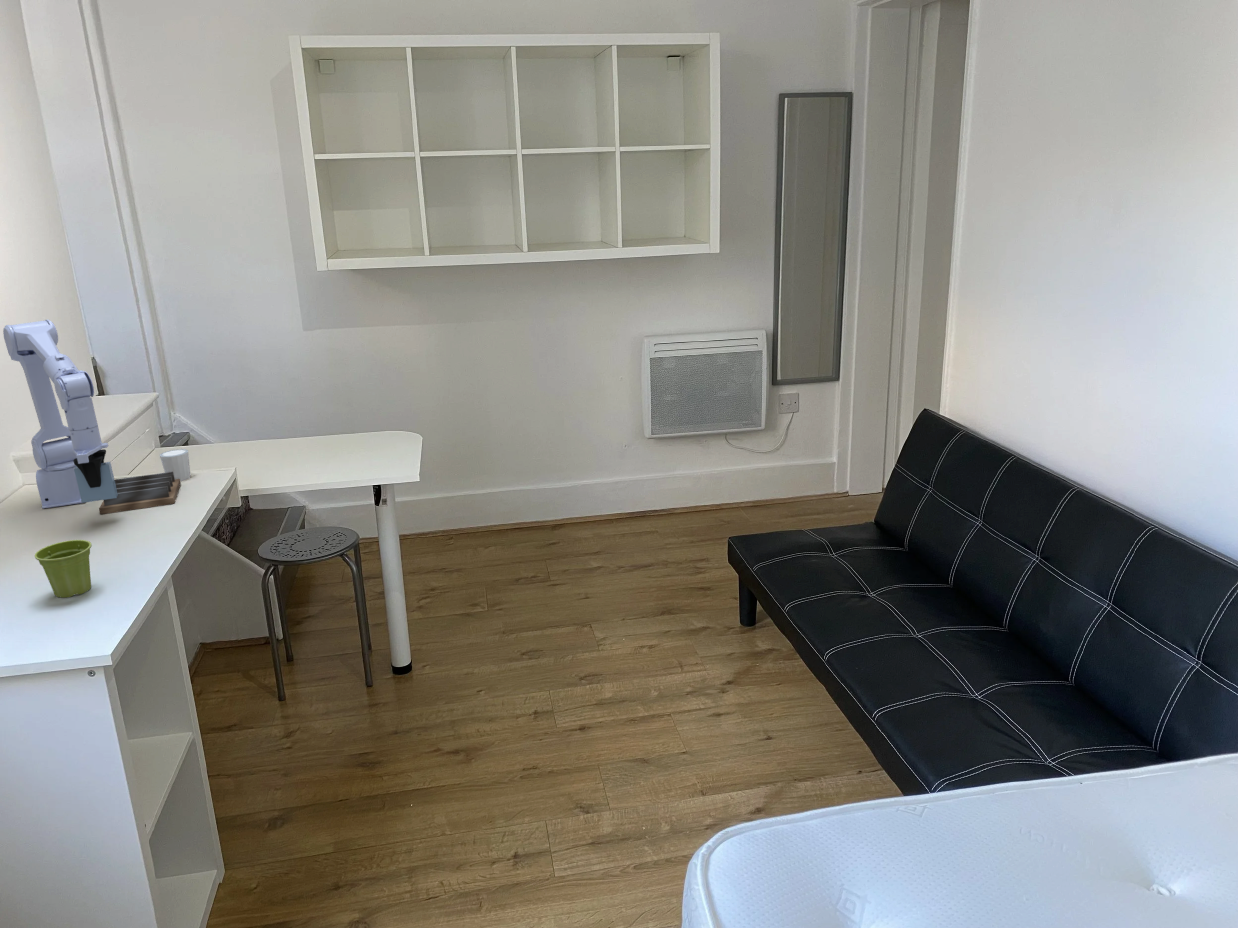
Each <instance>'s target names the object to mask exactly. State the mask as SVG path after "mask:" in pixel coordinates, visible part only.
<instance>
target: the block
mask: <svg viewBox="0 0 1238 928" xmlns="http://www.w3.org/2000/svg"><path fill="white" fill-rule="evenodd" d="M74 472H75V476H76V480H77V484H78V488H79V492H80V497H81V501H82V503H81V504H83V503H91V502H96V501H97V502H98V501H103V500H106V499H113V498H117V496H118V493H117V489H116V484H115V480H114V479H115V475H114V472H113V466H112V463H111V461H106V462H105V461H104V463H101V468H100V472H101V486H100V487H95V488H90V487H89V485H88V483H87V481H86V479H85V477H84V475H83V474H82V472H81V471H80V469H79V468H78V467H77V466H76V467H75V468H74Z"/></svg>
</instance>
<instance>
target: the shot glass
mask: <svg viewBox="0 0 1238 928" xmlns="http://www.w3.org/2000/svg"><path fill="white" fill-rule="evenodd" d="M189 455H190V454H189V450H188V449H185V448H184V449H182V448H181V449H178V448H177V449H172V450H167V451H165V452H162V453H160V454H159V459H160V461H161V464H162V468H163V471H164V473H166V472H173V474H174V479H180V482H182V481H185V480H188V479H190V478H191V477H192V476H191V465H190V458H189V457H190V456H189Z"/></svg>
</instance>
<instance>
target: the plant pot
mask: <svg viewBox="0 0 1238 928" xmlns="http://www.w3.org/2000/svg"><path fill="white" fill-rule="evenodd" d="M92 546H93V545H92V542H90V541H89V540H86V539H71V540H70V539H69V540H65V541H60V542H59V541H58V542H55V543H53V544H50V545H49V544H48V545H47V546H44V547H43V548H41V549H39V550H38V551H36V552H35V553H34V558H35V560H36V561H38V562H39V565H41V566H42V569H43V570H44V571H43V572H44V573H45V575H46V577H47V580H48V583H49V584H50V585H49V586H51V589H52V591H53V594H54V595H55V596H56V597H57V598H71V597H73V596H75V595H83V594H85V593H87V592H88V591H90V590H91V588H92V578H91V567H90V566H91V564H90V555H91V549H92Z"/></svg>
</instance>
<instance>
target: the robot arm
mask: <svg viewBox="0 0 1238 928" xmlns="http://www.w3.org/2000/svg"><path fill="white" fill-rule="evenodd" d="M2 333H3V334H2V335H3V339H4V343H5V347H6V349H7V350H6V351H7V352H8V356H10V360H11V361H14V362H19V363H20V365H21V368H22V370H23V373H24V376H25V379H26V381H27V386H28V389H29V392H30V396H31V399H32V400H31V401H32V403H33V407H34V409H35V413H36V417H37V420H38V423H39V427H40V429H39V430H38V431H37V432H36V433H35V435H33V437H32V438H31V441H30V442H31V446H32V455H33V458H34V459H33V460H34V461H35V463H36V465H37V467H38V468H39V469H37V470H36V472H35V480H36V481H35V482H36V487H37V490H38V495H39V499H40V502H41V505H42V506H41V509H47V508H50V509H51V508H55V507H63V506H69V505H77V504H83V503H82V501H81V497H80V492H79V488H78V484H77V480H76V476H75V472H74V468H75V467H76V466H77V467H78V468H79V469H80V471H81V472H82V474H83V475H84V477H85V479H86V481H87V483H88V485H89V487H90V488H95V487H100V486H101V472H100V468H101V463H105V457H106V453H107V450H106V449H107V448H108V447H109V443H108V442H104V443H103V442H102V438H101V434H100V429H99V424H98V421H97V417H96V416H97V415H96V412H95V407H94V403H93V398H94V396H95V395H94V394H95V387H94V383H93V380H92V378H91V376H90V375H89V373H88V372H87V371H86V370H82V369H81V370H79V369H78V367H77V366H76V364H75V363H74V362H73V360H72V359H71V357H70V356H68V355H67V354H65V353H61V352H60V350H59V349H58V346H57V345H58V343H59V335H58V330H57V327H56V325H55V324H54V322H53V321H51V320H50V319H44V320H38V321H32V322H31V321H30V322H23V323H18V324H6V325H4V327H3V329H2ZM51 382H52V383H53V385H54V389H55V390H54V389H53V385H52V383H51ZM54 391H55V393H56V396H57V398H58V400H59V404H60V407H61V409H62V410H63V412H64V415H65V420H66V423H67V426H66V425H64V423H63V420H62V416H61V413H60V410H59V407H58V404H57V403H58V402H57V399H56V397H55V393H54ZM92 397H93V398H92ZM64 437H65V438H64ZM59 438H60V439H59ZM46 441H47V442H46Z"/></svg>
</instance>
